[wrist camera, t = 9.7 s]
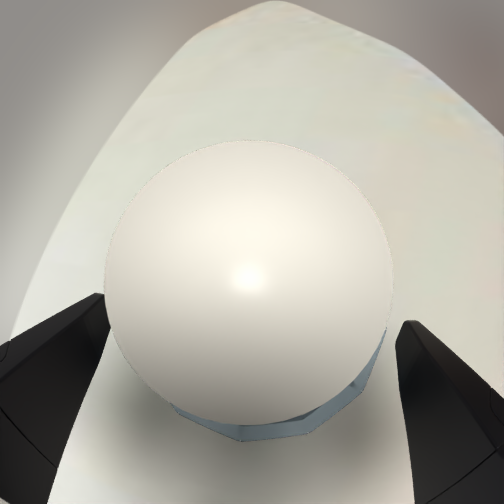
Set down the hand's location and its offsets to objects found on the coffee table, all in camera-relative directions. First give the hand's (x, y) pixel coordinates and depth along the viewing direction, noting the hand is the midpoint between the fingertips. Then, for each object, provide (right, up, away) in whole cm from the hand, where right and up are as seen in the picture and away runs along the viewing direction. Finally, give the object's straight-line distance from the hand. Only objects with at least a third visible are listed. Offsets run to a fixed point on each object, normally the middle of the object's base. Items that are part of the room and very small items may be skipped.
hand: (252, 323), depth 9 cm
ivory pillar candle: (0, -2, +9) cm, 9 cm away
